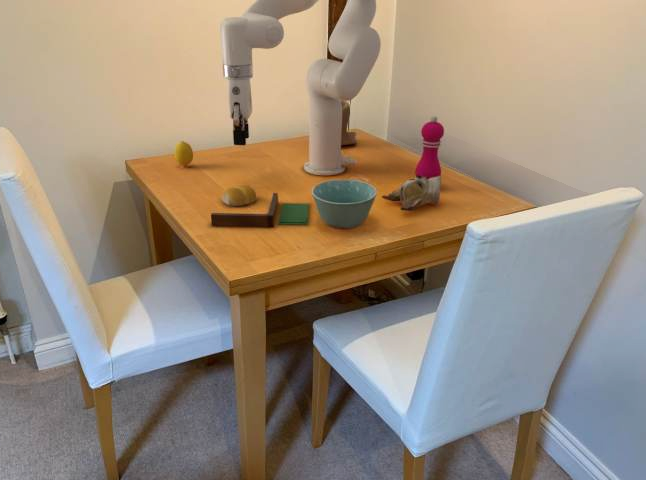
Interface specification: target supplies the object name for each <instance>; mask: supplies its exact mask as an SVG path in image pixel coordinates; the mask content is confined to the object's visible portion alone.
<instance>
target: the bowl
mask: <svg viewBox="0 0 646 480" xmlns="http://www.w3.org/2000/svg"><path fill="white" fill-rule="evenodd" d="M311 194H312V197H313V201H314V204H315V207H316V209H317V212H318V215H319V217H320V219H321V221H322V222H324V224H326V225H328V226H329V227H332V228H335V229H340V230H347V229H348V230H349V229H354V228H356V227H359V226H360V225H361V224H363V223H364V222H365V221H366V220H367V218H368V216H369V213H370V211H371V209H372V207H373V204H374V202H375V199H376V197H377V194H378V191H377V189H376V187H375V186H373V185H372V184H370V183H368V182H365V181H361V180H356V179H331V180H330V179H329V180H325V181H322V182H319V183H317V184H315V185H314V186H313V187H312V189H311Z"/></svg>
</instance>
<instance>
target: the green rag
mask: <svg viewBox="0 0 646 480" xmlns="http://www.w3.org/2000/svg"><path fill="white" fill-rule="evenodd" d="M309 206H310V204H309V203H289V202H288V203H287V202H286V203H285V202H283V203H281V209H280V213H279V218H278V224H277V225H279V226H282V225H283V226H307V225H308V219H309V218H308V217H309Z"/></svg>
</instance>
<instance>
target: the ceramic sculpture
mask: <svg viewBox="0 0 646 480" xmlns="http://www.w3.org/2000/svg"><path fill="white" fill-rule="evenodd" d="M441 188H442V175H441V176H438V177H433V178H430V179H428V180H427V179H426V178H425V177H423V176H421V175H417V176H415V178H410V179H407V180H405V181H404V182H403V183H402V184H401V186H400V187H399V188H397V189H395V190H392V192H391V193H388V194H387V195H384V194H383V195H382V196H381V198H382V199H384V200H387V201H390V202H394V203H395V202H401V203H402V206H401V208H400V210H401V211H404V212H412V211H416V209H417V208H419V207H421V206H423V205H426V204H429V205H437V204H438V202H439V201H440V199H441V198H440V196H441V191H442V189H441Z"/></svg>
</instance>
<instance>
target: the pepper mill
mask: <svg viewBox="0 0 646 480" xmlns="http://www.w3.org/2000/svg"><path fill="white" fill-rule="evenodd" d="M420 134H421V136H422V138H423V139H422V140H421V145H422V154H421V157H420V159H419V160H418V162H417V164H416V166H415V169H414V176H415V177H416V176H417V175H421V176H423V177H425V178H426V179H427V180H428V179H430V178H433V177H438V176H441V177H442V168H441V163H440V160H439V156H438V155H439V154H438V153H439V147H441V143H442V140H441V139H442V138H443V137H444V134H445V128H444V126H443V125H442V123H440V122H439V121H438V116H436V115H433V116H430V121H428V122H426V123H424V124H423V126H422V128H421V131H420Z"/></svg>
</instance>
